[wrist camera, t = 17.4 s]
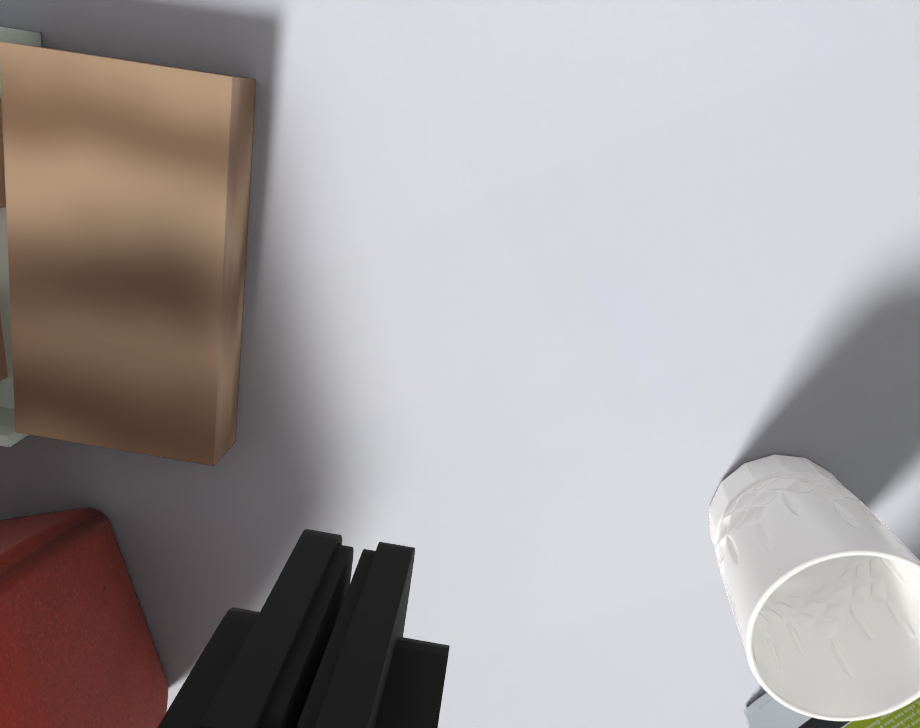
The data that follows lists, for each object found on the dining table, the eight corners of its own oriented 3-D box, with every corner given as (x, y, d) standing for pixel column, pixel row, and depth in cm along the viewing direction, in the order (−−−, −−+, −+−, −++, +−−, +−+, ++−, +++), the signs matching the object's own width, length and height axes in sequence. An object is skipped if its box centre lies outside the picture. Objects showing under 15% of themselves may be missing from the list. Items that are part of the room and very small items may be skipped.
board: (41, 46, 36) (-1, 41, 33) (256, 79, 36) (232, 77, 33) (50, 409, 42) (15, 432, 39) (235, 441, 41) (213, 465, 38)
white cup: (873, 451, 39) (985, 563, 29) (836, 589, 41) (928, 734, 32) (710, 434, 39) (768, 538, 30) (683, 571, 42) (729, 708, 32)
